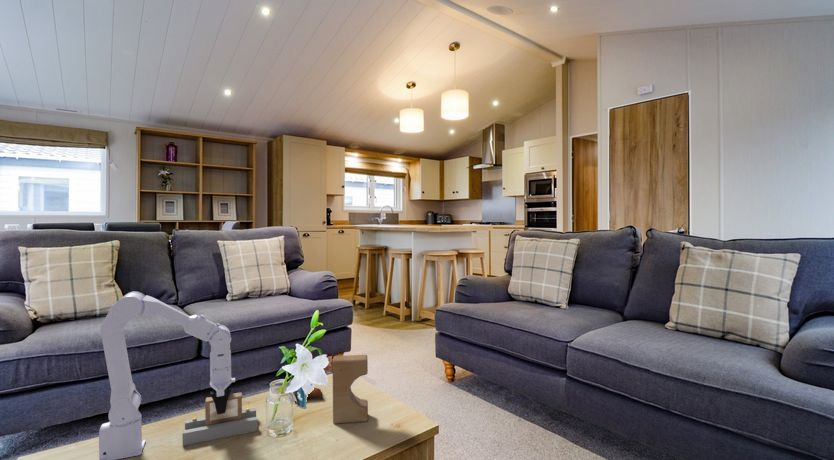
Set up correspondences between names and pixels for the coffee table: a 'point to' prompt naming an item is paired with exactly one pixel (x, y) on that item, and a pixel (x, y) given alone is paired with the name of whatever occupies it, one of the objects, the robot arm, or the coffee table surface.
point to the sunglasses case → (315, 394)
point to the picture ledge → (218, 428)
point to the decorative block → (348, 389)
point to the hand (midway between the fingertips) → (221, 410)
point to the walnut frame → (231, 411)
